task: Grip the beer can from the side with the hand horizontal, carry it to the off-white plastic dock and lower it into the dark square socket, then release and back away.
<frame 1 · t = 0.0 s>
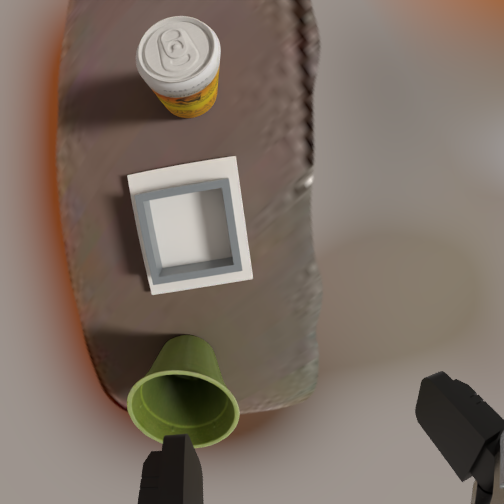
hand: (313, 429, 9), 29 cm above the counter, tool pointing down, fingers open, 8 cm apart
dock: (191, 226, 36), on the counter
beer can: (189, 93, 33), on the counter
plant pot: (187, 356, 41), on the counter
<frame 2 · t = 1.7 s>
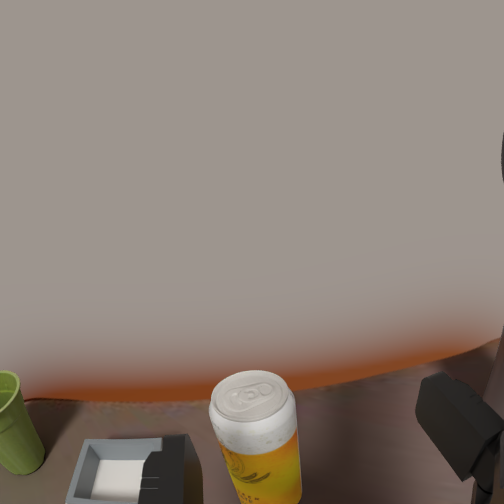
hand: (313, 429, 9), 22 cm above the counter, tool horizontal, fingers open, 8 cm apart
dock: (129, 491, 25), on the counter
beer can: (271, 496, 25), on the counter
plant pot: (26, 458, 28), on the counter
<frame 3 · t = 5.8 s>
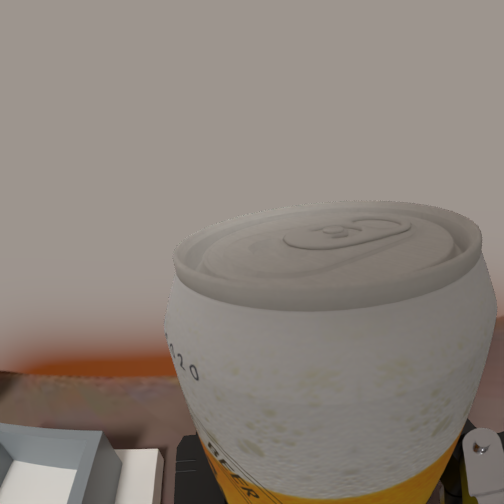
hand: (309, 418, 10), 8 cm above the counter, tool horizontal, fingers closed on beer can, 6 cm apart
when the fingers open (11 cm above the counter, at t = 10.0 s): beer can drops 1 cm, resting on dock.
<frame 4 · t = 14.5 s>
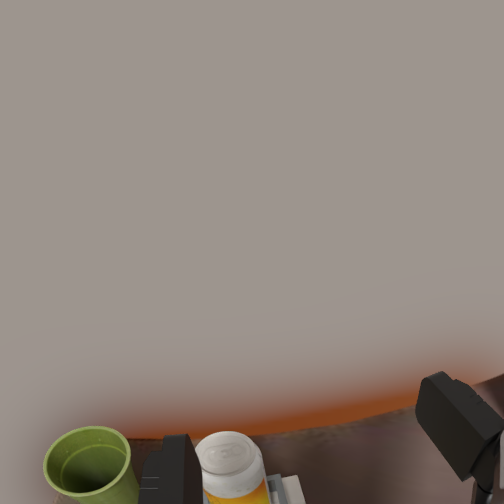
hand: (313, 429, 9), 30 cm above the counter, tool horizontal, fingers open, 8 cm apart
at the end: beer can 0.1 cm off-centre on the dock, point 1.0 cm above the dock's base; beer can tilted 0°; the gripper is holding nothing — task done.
